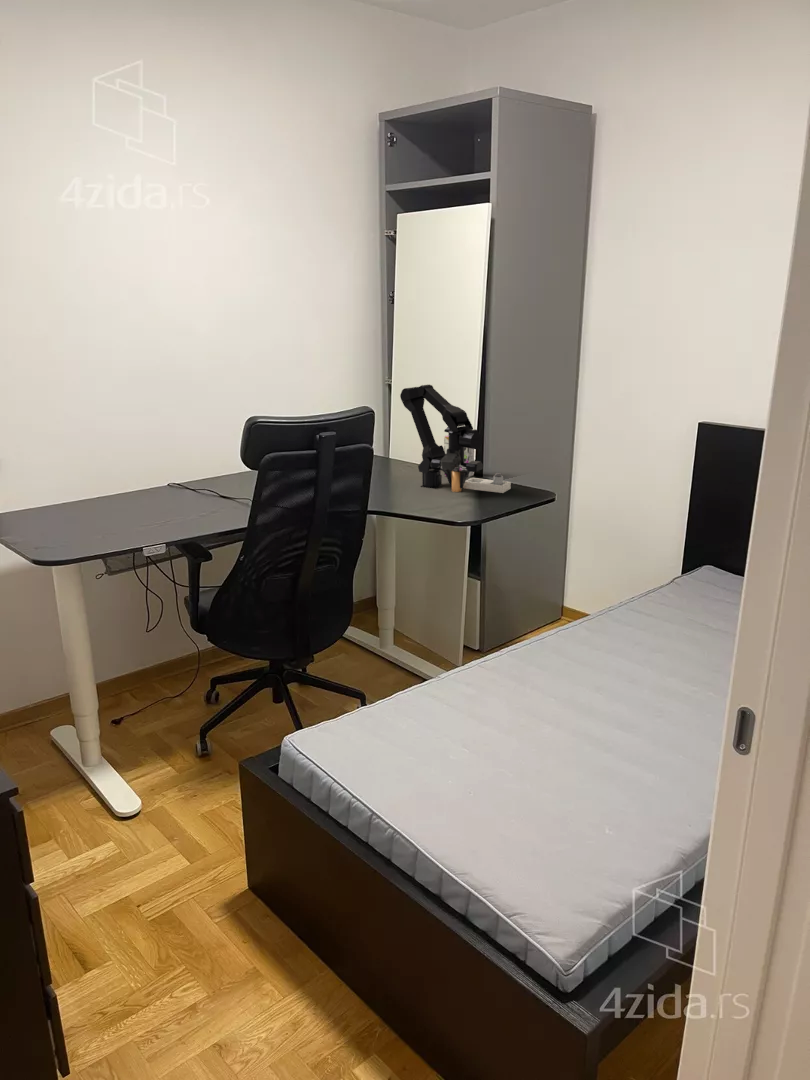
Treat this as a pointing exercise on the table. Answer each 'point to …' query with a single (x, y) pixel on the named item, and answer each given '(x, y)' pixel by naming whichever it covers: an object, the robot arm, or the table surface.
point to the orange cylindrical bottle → (456, 480)
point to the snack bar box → (467, 453)
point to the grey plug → (498, 479)
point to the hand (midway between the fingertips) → (456, 487)
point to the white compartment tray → (486, 485)
